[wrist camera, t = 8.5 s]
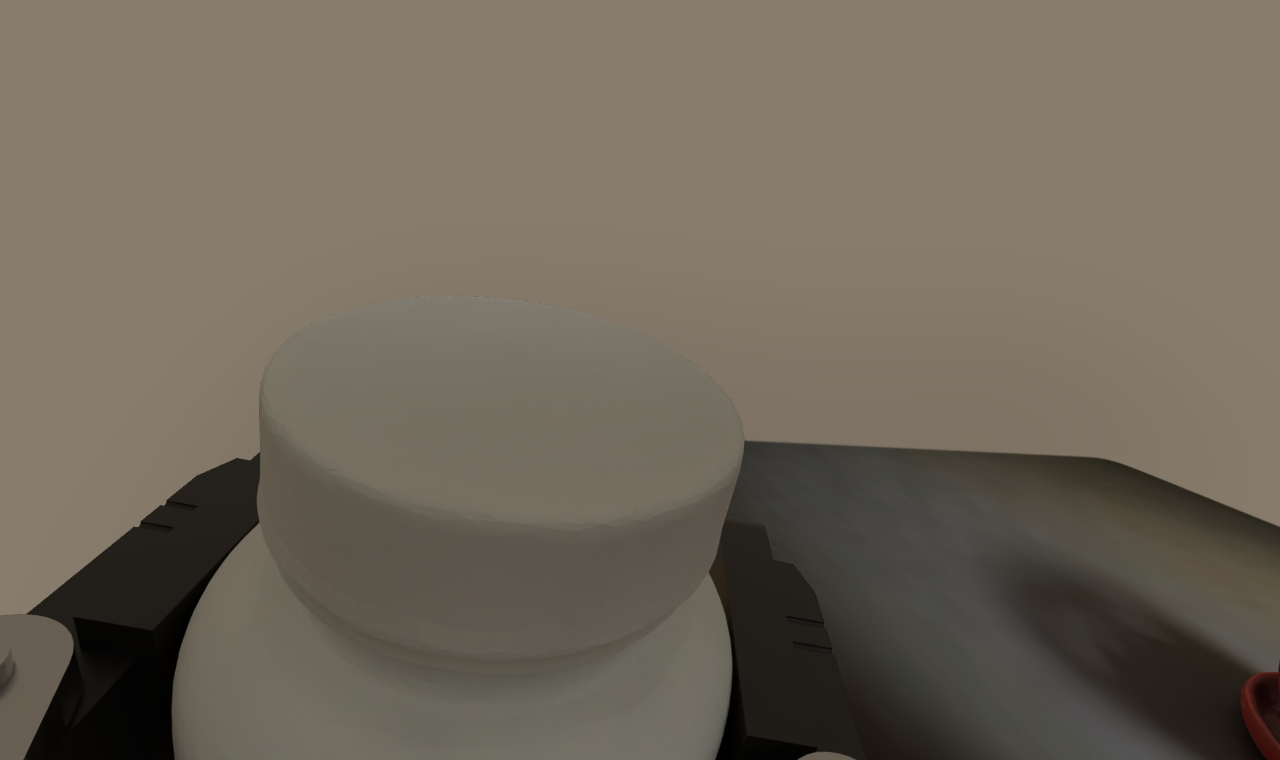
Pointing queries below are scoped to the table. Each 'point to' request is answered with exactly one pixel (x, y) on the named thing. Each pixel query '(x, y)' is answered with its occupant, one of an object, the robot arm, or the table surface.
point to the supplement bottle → (472, 547)
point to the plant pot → (1263, 712)
